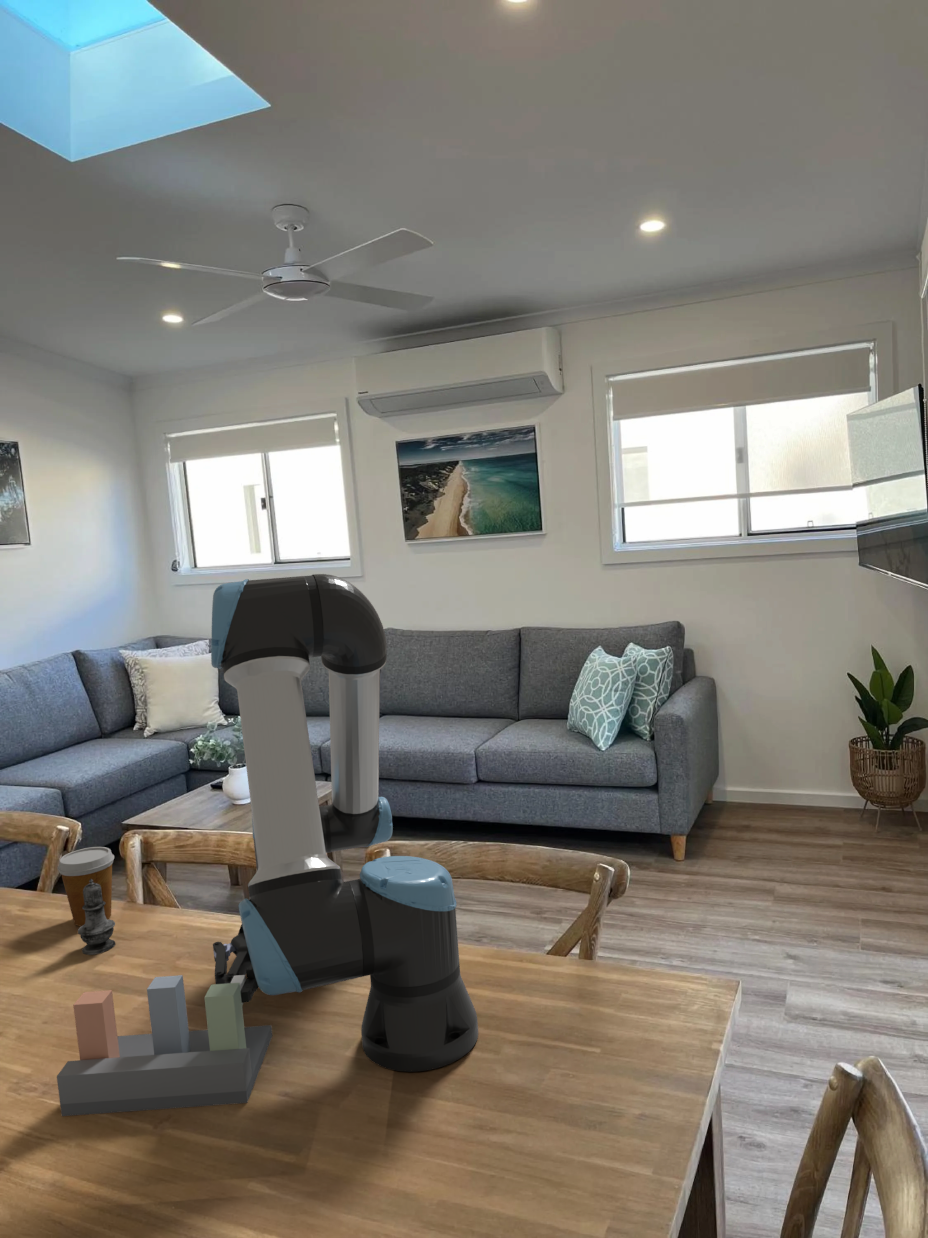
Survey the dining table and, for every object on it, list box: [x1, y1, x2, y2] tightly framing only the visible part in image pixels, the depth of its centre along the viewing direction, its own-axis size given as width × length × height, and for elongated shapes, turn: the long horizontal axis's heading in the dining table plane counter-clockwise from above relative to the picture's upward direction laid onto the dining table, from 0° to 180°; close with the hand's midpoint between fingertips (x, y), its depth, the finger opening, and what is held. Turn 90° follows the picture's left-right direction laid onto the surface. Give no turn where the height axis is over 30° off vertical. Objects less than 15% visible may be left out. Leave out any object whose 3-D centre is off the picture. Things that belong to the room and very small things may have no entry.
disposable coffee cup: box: [56, 846, 115, 927], centre depth 161 cm, size 10×10×12 cm
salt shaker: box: [77, 879, 116, 956], centre depth 149 cm, size 6×6×12 cm
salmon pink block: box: [73, 989, 120, 1060], centre depth 109 cm, size 4×3×10 cm
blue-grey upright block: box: [146, 974, 191, 1055], centre depth 111 cm, size 4×3×10 cm
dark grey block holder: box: [56, 1024, 274, 1117], centre depth 111 cm, size 22×14×5 cm, turn 90°
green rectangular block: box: [203, 983, 246, 1051], centre depth 108 cm, size 4×3×10 cm
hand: (227, 1012), depth 110 cm, fingers closed
